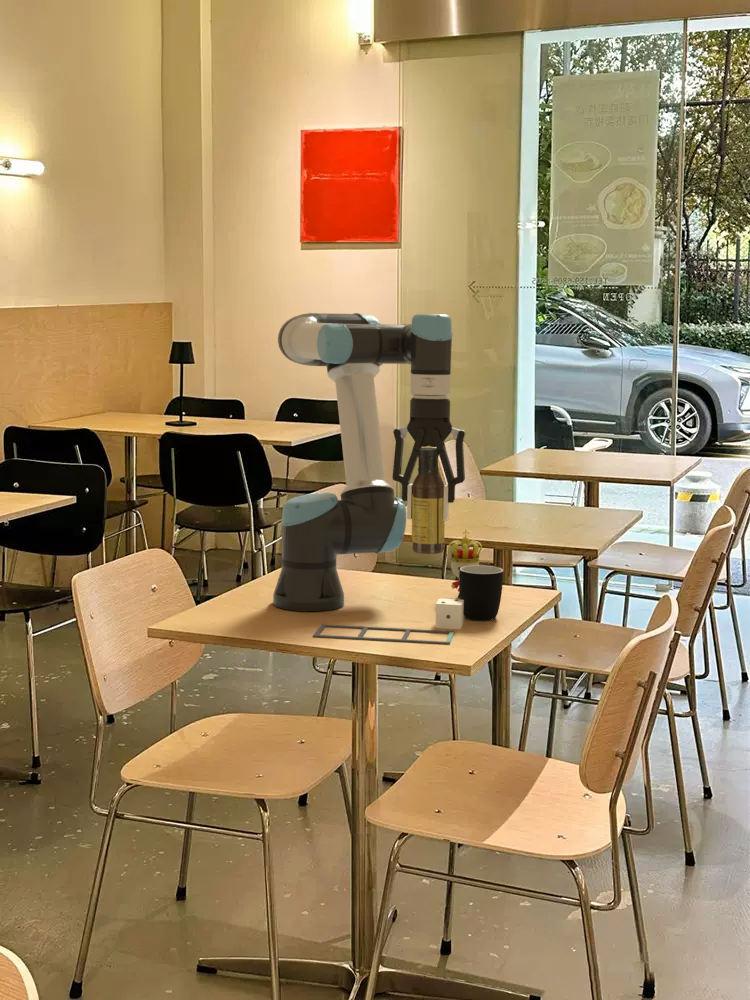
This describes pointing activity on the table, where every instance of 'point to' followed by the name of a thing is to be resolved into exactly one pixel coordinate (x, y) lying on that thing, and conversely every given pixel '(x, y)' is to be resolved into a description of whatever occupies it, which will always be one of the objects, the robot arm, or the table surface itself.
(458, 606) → the die
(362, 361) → the robot arm
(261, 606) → the table surface
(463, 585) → the mug
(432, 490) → the sauce bottle
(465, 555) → the toy
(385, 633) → the table surface
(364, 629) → the board
